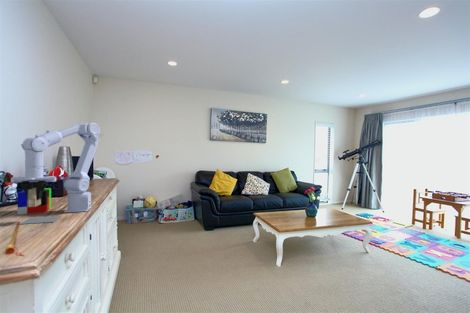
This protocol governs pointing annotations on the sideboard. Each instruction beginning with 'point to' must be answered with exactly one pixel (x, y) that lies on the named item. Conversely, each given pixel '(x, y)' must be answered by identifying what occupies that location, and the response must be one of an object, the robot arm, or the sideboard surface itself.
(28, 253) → the sideboard surface
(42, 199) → the puzzle toy
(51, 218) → the mat
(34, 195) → the tile
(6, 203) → the sideboard surface
